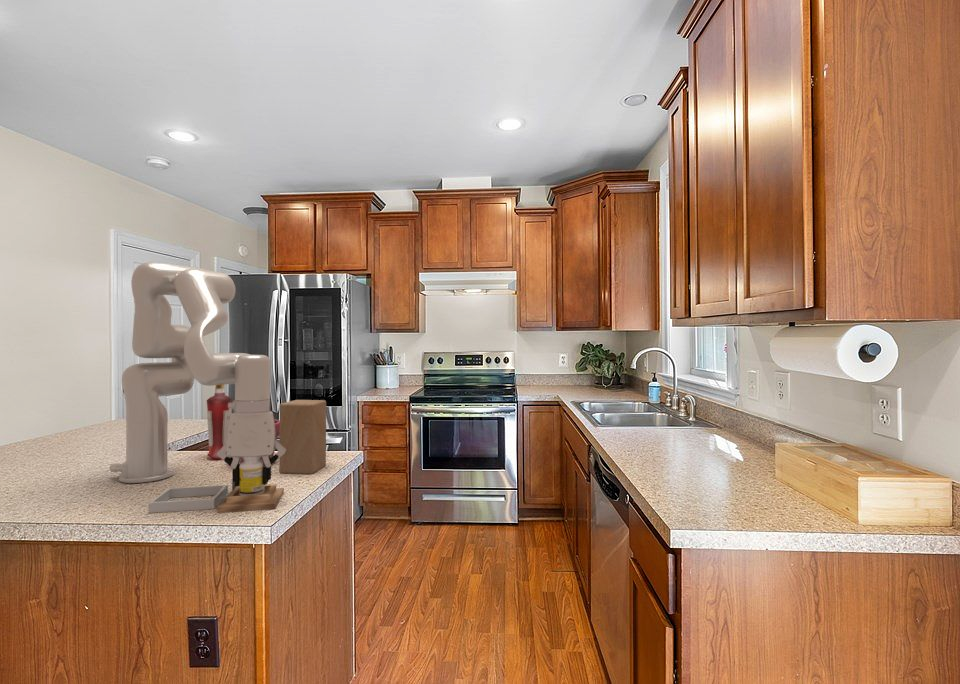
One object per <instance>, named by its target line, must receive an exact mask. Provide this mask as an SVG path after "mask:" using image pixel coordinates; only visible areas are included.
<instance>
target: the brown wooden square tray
mask: <svg viewBox="0 0 960 684" xmlns="http://www.w3.org/2000/svg"><path fill="white" fill-rule="evenodd" d="M284 493H285V488H284V487H280V488H278V487H277V484H276V483H274V484H273V483H272V484H266V485H265V489H264V493H262V494H261V495H246V496H241V495H240V493H239V486H237V487H236V488H235V489H234V490H233V491H232V490H231V491H230V492H228V494H227V495H226V496H225V497H224V498H223V500H222V501H221V502H220V503H219V504H218V505H217V506H216V512H217V513H230V512H231V513H232V512H233V513H234V512H236V513H237V512H248V511H261V510H263V511H264V510H275V509H277V506H278V504H279V503H280V500H281V499H282V497H283V495H284Z"/></svg>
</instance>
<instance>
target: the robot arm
mask: <svg viewBox="0 0 960 684" xmlns="http://www.w3.org/2000/svg"><path fill="white" fill-rule="evenodd" d="M131 276H132V277H131V281H130V283H131V285H130V286H131V292H132V297H133V301H134V313H133V314H134V315H133V326H132V338H131V340H132V341H131V342H132V344H131V348H132V352H133V353H134V355H135V356H137V357H138V358H143V359H171V362H170V361H169V362H159V361H158V362H142V363H141V362H139V363H135V364H132V365H129V366H128V367H127V368H126V369H125V370H124V371H123V372H122V374H121V375H122V376H121V385H122V390H123V395H124V400H125V417H126V418H125V420H126V421H125V422H126V423H125V424H126V426H125V429H126V431H125V440H126V441H125V442H126V444H125V447H126V449H125V457H126V458H125V460H126V461H125V462H123V463H111V464H110V466H109V471H110V472H111V473H118V472H120V473H121V474H120V475H119V477H118V481H119V482H121V483H125V484H137V483H139V484H141V483H149V482H155V481H160V480H164V479H167V478H170V477H172V476H173V475H174V474H175V469H174V468H172V467H169V466H168V436H169V435H168V427H169V426H168V421H169V420H168V417H169V416H168V410H167V408H166V406H165V405H164V403H163V402H162V401H161V400H160V398H159V397H165V396H168V397H169V396H176V395H184V394H186V393H189V391H191V389H192V388H193V386H194V384H195V380H196V381H197V383H199V384H201V385H202V386H211V387H213V386H215V385H224V386H225V385H234V400H233V401H232V403H228V408H232V411H233V412H232V414H231V416H230V420H229V427H228V436H227V443H226V444H225V445H224V446H223V447H222V448H221V449H220V450H219V451H218V453H217V456H219V457H220V458H221V459H220V460H223V462H224V463H226V464H227V465H228V466H229V467H230V469H231V470H232V471H231V472H232V475H231V476H232V478H231V479H232V480H231V482H232V481H233V482H235V486H238V485H239V466H240V460H241V457H262V458H263V460H264V463H265V465H264V468H263V484H264V485H268V482H269V481H270V480H271V479H272V466H273V464H275V462H277V460H278V459H279V458H280V457H281V456H282V455H283V454H284V453H285V452H286V449H285V448H284V447H283V445H282V444H281V443H280V442H279V441H280V440H278V438H277V439H276V432H275V422H274V419H275V417H274V413H273V411H271V360H270V358H269V356H267V355H265V354H250V353H247V352H246V353H244V352H219V353H217V352H214V353H210V351H209V349H208V347H207V345H206V343H205V339H204V337H205V336H207V335H210V334H212V333H215V332H216V331H218V330H220V329H222V328H223V327H224V326H225V325H226V324H227V322H228V320H229V315H228V313H227V311H226V309H225V307H224V305H223V304H229V303H231V302H232V300H233V299H234V298H235V296H236V285H235V283H234V281H233V279H232V278H231V276H230V275H228V274H227V273H225V272H220V271H215V270H212V269H211V270H210V269H208V268H202V267H196V266H195V267H194V266H190V265H181V264H175V263H168V262H160V261H159V262H157V261H152V262H151V261H150V262H143V263H140V264H138V266H136V268H134V271H133V273H132V275H131ZM166 296H173V297H174V296H175V297H178V299H179V301H180V304H181V306H182V308H183V310H184V313H185V315H186V316H187V319H188V321H189V323H190V325H191V326H187V325H183V324H172V315H173V314H172V313H173V311H172V310H173V309H172V306H171V304H170V302H169V301H168V299H167V298H166ZM274 450H275V451H276V450H277V452H276V453H275V451H274ZM226 451H227V453H226ZM273 452H274V456H273V457H272V458H271V454H272V453H273Z"/></svg>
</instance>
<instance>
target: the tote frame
mask: <svg viewBox="0 0 960 684" xmlns="http://www.w3.org/2000/svg"><path fill="white" fill-rule="evenodd" d="M228 487H229V485H228V484H219V485H202V486H201V485H200V486H185V487H168V488H167V489H166V490H164V491H163V492H161V493H160V494H159V495H157V496H156V497H154V498H153V499H151V500H150V501H149V502H148V514H154V513H155V514H156V513H170V512H171V513H172V512H186V511H201V510H202V511H203V510H214V509H216V508H217V507H218V506H219V505H220V504H221V502H222V501H223V500H224V499H225V498H226V497H227V496H228V495H229V490H228V489H229V488H228ZM205 496H206V497H209V496H213V497H212V498H201V499H200V498H197V499H185V500H184V499H183V500H181V499H180V500H169V499H172V498H173V499H174V498H189V497H191V498H192V497H205Z"/></svg>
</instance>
